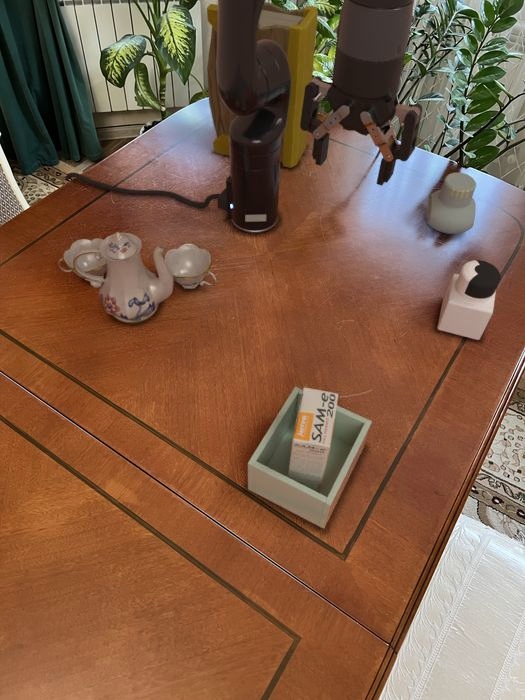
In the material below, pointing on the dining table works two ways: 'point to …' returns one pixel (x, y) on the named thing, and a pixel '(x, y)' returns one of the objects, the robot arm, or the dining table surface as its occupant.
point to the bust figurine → (470, 300)
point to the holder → (274, 461)
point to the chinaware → (135, 273)
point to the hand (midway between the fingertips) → (350, 171)
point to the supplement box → (312, 437)
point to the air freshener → (453, 205)
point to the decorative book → (299, 46)
